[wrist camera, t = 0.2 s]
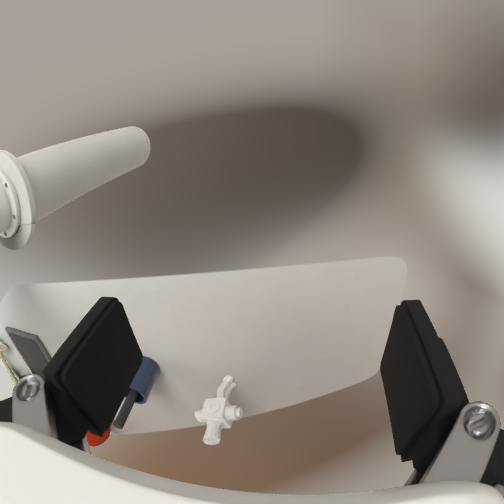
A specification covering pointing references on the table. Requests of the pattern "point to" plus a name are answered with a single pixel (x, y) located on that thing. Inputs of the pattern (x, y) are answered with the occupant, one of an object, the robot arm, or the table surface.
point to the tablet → (30, 350)
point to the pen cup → (144, 380)
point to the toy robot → (219, 412)
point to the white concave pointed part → (3, 347)
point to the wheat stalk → (8, 369)
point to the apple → (97, 438)
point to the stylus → (126, 409)
